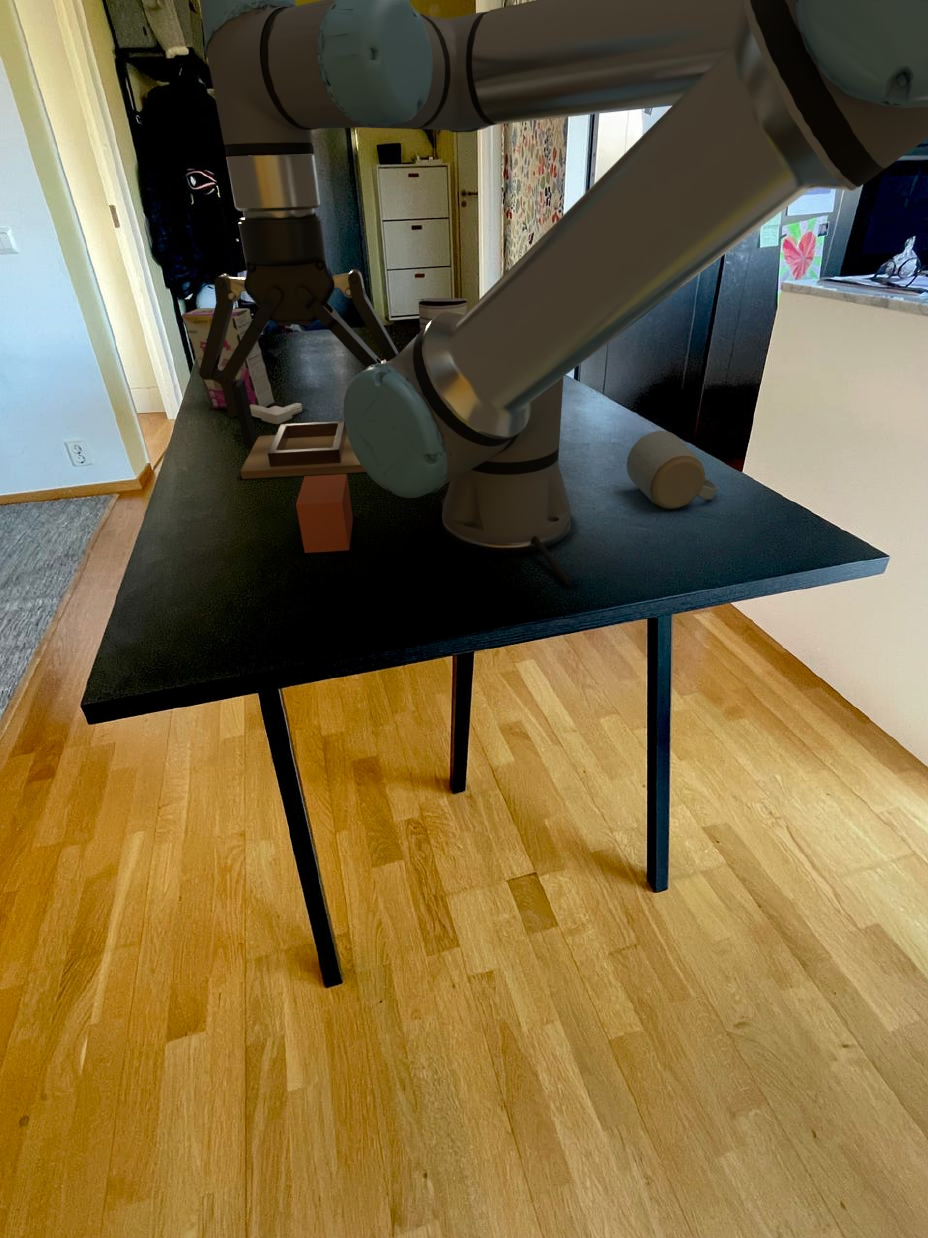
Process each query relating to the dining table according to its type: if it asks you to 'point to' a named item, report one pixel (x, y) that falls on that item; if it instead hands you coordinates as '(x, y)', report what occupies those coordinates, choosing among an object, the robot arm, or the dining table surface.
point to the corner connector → (275, 412)
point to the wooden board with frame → (302, 452)
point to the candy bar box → (250, 370)
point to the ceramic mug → (668, 471)
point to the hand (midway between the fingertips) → (314, 441)
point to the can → (439, 308)
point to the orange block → (325, 513)
